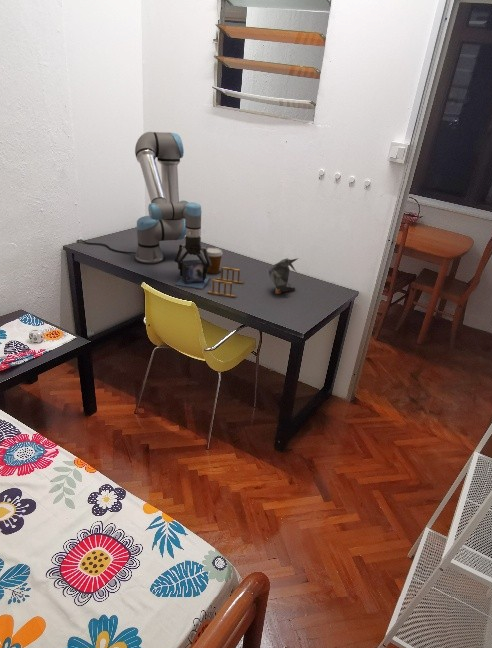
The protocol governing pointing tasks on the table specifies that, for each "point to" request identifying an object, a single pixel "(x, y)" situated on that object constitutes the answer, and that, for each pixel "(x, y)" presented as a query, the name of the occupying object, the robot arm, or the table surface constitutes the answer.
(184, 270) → the small box
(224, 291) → the rack
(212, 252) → the disposable coffee cup
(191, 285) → the felt mat
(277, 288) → the bird figurine
